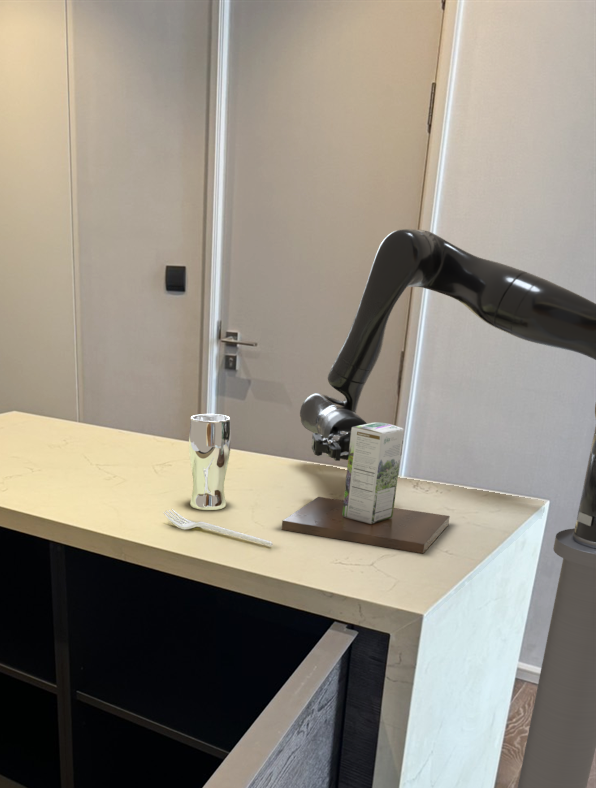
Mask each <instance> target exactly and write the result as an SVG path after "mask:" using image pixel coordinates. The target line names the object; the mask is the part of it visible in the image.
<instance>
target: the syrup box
mask: <svg viewBox="0 0 596 788" xmlns="http://www.w3.org/2000/svg"><path fill="white" fill-rule="evenodd" d="M404 433H405V428H404V427H401V426H398V425H395V424H391V423H386V422H377V421H376V422H374V421H373V422H369V423H367V424H364V425H359V426H355V427H352V429H351V438H350V447H349V457H348V460H347V466H346V477H345V487H344V497H343V500H344V503H343V512H342V515H343V517H346V518H350V519H354V520H357V521H361V522H365V523H369V524H373V523H376V522H379V521H382V520H385V519H389V518H391V517H392V516H393V510H394V508H395V503H396V502H395V501H396V495H397V494H396V493H397V486H398V479H399V472H400V463H401V458H402V457H401V456H402V454H401V452H402V451H401V449H402V450H403V444H402V441H403V442H404V440H403V439H404Z"/></svg>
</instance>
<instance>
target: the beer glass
mask: <svg viewBox="0 0 596 788" xmlns="http://www.w3.org/2000/svg"><path fill="white" fill-rule="evenodd" d="M231 446H232V428H231V417H230V416H228V415H224V414H220V413H219V414H218V413H216V414H215V413H202V414H201V413H200V414H195V415H192V416H191V417H190V425H189V435H188V454H189V462H190V468H191V477H192V492H191V497H190V502H189V504H190V507H191V508H192V509H195V510H200V511H218V510H222V509H224V508H225V507H226V506H227V503H226V494H225V480H226V475H227V470H228V465H229V461H230V456H231V455H230V454H231V448H232V447H231Z"/></svg>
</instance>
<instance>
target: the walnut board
mask: <svg viewBox="0 0 596 788" xmlns="http://www.w3.org/2000/svg"><path fill="white" fill-rule="evenodd" d="M343 503H344V499H337V498H330V497H325V496H317V497H315V498H314V499H312V500H311V501H310V502H308V503H307V504H305V505H303V506H301V507H300V508H298V510H296V511H294V512H293V513H292V514H290V515H288V516H287V517H286V518H284V519H282V521H281V530H282V531H289V532H294V533H300V534H305V535H311V536H318V537H323V538H329V539H335V540H341V541H348V542H351V543H359V544H366V545H370V546H377V547H382V548H388V549H393V550H400V551H407V552H411V553H417V554H424V553H425V552H426V551H427V550H428V548H429V547H430V546H431V545H432V544H433V543H434V542H435V541H436V539H438V537H439V536H440V535H441V534H442V533H443V532H444V531H445V529H446V528H447V527H448V526H449V525H450V524H449V523H450V518H451V516H450V515H445V514H440V513H433V512H432V513H431V512H426V511H419V510H414V509H413V510H411V509H405V508H399V507H394V510H393V516H392V517H391V518H389V519H385V520H382V521H379V522H376V523H373V524H369V523H365V522H361V521H357V520H354V519H350V518H346V517H343V515H342V512H343Z"/></svg>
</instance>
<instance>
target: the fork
mask: <svg viewBox="0 0 596 788" xmlns="http://www.w3.org/2000/svg"><path fill="white" fill-rule="evenodd" d="M162 514H164V516H165V517H166V519H167V520H168V521H169V522H170V523H171V524H172V525H174V526H175V527H177V528H178V529H180V530H191V529H193V528H201V529H206V530H210V531H212V532H217V533H221V534H223V535H228V536H231V537H235V538H239V539H242V540H246V541H250V542H253V543H257V544H261V545H265V546H268V547H272V546H274V544H273V541H271V540H267V539H264V538H261V537H260V538H259V537H258V536H253V535H250V534H246V533H242V532H239V531H237V530H233V529H229V528H226V527H222V526H219V525H217V524H216V525H215V524H212V523H208V522H206V521H201V520H200V521H197V522H195V521H193V520H190V519H187V518H185V517H184V516H183V515H181V514H179V512H177V511H175V509H173V508H171V510H170V509H167V510H165V511H162Z"/></svg>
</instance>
